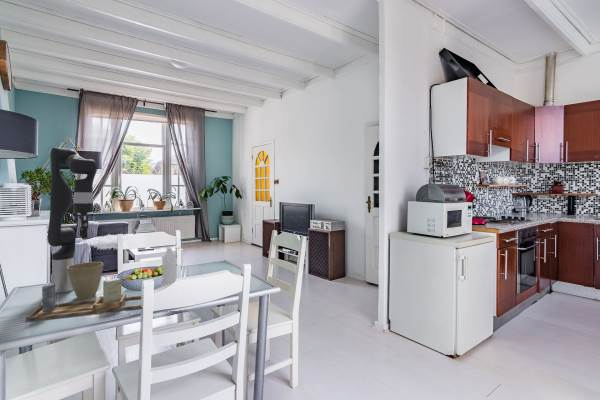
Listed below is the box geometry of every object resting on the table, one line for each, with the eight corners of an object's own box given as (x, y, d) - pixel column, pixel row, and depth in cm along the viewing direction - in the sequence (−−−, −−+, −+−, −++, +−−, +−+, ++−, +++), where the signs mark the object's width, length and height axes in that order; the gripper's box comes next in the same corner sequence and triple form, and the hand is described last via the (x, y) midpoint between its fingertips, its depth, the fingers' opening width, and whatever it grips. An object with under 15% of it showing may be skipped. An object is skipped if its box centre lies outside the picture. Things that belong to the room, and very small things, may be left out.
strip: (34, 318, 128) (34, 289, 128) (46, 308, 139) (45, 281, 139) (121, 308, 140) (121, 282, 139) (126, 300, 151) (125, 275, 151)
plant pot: (88, 291, 165) (88, 261, 165) (110, 293, 161) (110, 262, 161) (59, 300, 151) (59, 267, 150) (83, 303, 147) (82, 269, 146)
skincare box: (107, 309, 140) (107, 282, 139) (102, 307, 142) (102, 280, 142) (122, 304, 145) (121, 278, 145) (117, 302, 147) (116, 277, 147)
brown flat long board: (25, 321, 126) (25, 317, 126) (41, 308, 140) (41, 304, 140) (147, 307, 142) (147, 303, 142) (150, 296, 156) (150, 293, 156)
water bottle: (167, 301, 150) (167, 249, 149) (159, 298, 153) (159, 248, 153) (183, 296, 157) (183, 246, 157) (175, 293, 161) (174, 245, 160)
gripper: (95, 202, 141) (94, 238, 141) (91, 201, 152) (91, 234, 152) (74, 202, 136) (74, 239, 136) (72, 201, 147) (72, 235, 147)
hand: (83, 237), depth 144 cm, fingers open, 8 cm apart
